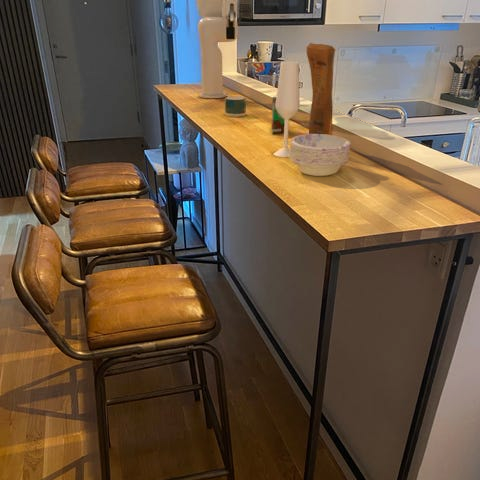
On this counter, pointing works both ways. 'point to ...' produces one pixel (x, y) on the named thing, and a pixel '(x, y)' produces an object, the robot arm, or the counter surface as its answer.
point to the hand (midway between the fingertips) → (230, 39)
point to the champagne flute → (287, 98)
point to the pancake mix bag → (321, 87)
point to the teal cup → (235, 106)
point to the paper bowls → (319, 153)
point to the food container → (277, 120)
